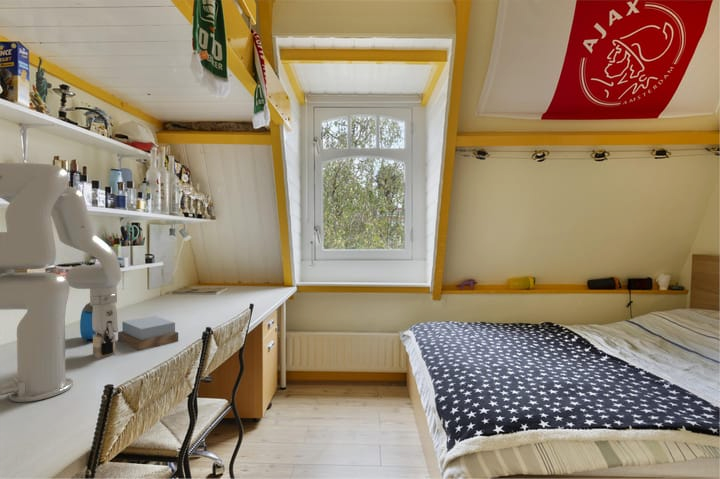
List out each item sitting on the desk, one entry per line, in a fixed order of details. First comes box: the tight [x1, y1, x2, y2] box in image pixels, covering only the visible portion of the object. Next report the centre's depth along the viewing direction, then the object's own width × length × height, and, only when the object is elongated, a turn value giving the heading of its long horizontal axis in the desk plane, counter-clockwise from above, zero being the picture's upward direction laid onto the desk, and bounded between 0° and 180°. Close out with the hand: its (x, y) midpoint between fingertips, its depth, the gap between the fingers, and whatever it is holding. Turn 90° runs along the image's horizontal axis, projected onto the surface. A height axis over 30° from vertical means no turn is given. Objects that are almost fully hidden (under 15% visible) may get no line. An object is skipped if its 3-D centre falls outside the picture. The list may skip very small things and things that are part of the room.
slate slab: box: [121, 315, 176, 340], centre depth 138 cm, size 12×17×4 cm
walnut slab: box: [117, 330, 179, 351], centre depth 138 cm, size 14×19×4 cm
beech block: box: [92, 331, 116, 359], centre depth 122 cm, size 5×5×7 cm
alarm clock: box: [79, 301, 96, 342], centre depth 140 cm, size 13×6×15 cm, turn 25°
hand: (104, 351), depth 123 cm, fingers closed on beech block, 5 cm apart
